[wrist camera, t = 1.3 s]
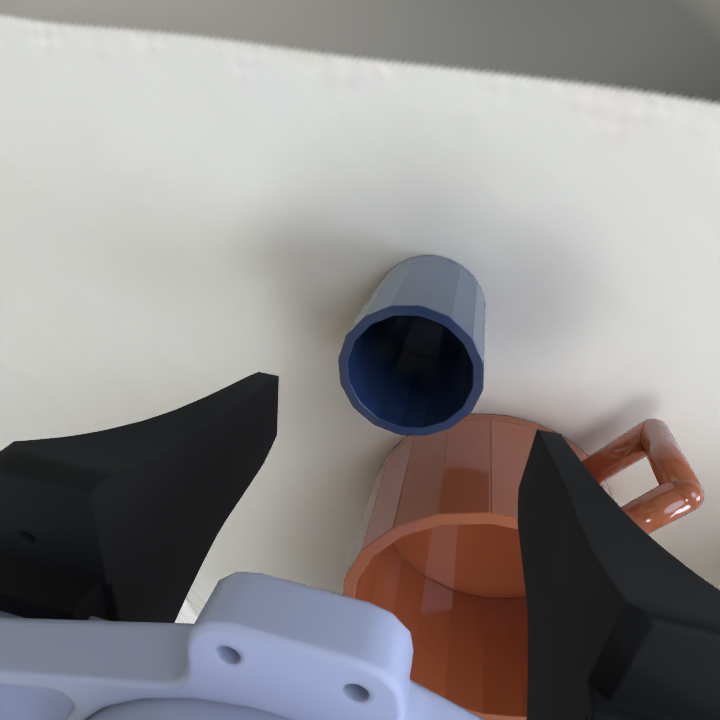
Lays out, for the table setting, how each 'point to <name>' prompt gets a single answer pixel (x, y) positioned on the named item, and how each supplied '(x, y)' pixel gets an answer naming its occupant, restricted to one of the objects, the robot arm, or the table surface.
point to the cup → (417, 348)
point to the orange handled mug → (482, 547)
